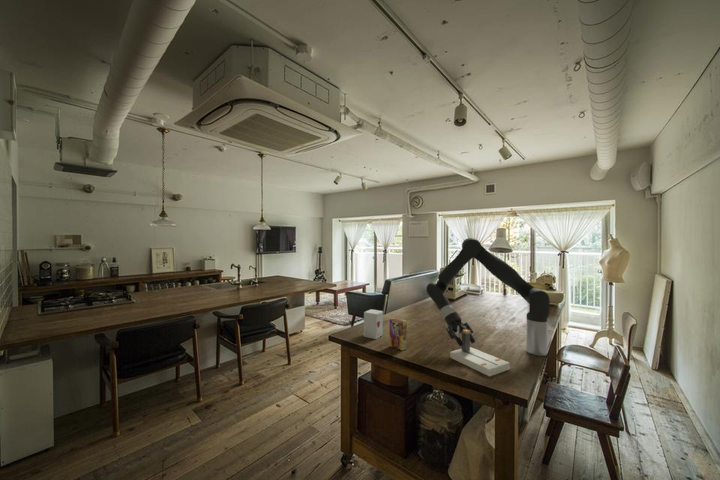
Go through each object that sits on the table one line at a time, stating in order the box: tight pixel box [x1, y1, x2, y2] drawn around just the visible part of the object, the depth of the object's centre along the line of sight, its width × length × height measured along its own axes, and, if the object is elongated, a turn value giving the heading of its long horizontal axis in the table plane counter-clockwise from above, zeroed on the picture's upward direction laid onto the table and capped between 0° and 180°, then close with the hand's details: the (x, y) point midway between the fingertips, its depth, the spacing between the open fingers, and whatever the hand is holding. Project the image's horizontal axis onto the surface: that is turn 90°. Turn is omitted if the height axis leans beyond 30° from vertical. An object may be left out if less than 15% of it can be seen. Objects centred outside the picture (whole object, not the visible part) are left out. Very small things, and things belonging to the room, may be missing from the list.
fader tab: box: [461, 330, 471, 352], centre depth 141 cm, size 3×3×10 cm
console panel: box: [449, 346, 511, 377], centre depth 134 cm, size 14×22×3 cm, turn 29°
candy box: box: [388, 317, 408, 351], centre depth 153 cm, size 9×4×15 cm, turn 47°
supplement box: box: [363, 308, 384, 340], centre depth 171 cm, size 9×9×15 cm
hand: (467, 344), depth 139 cm, fingers open, 8 cm apart
